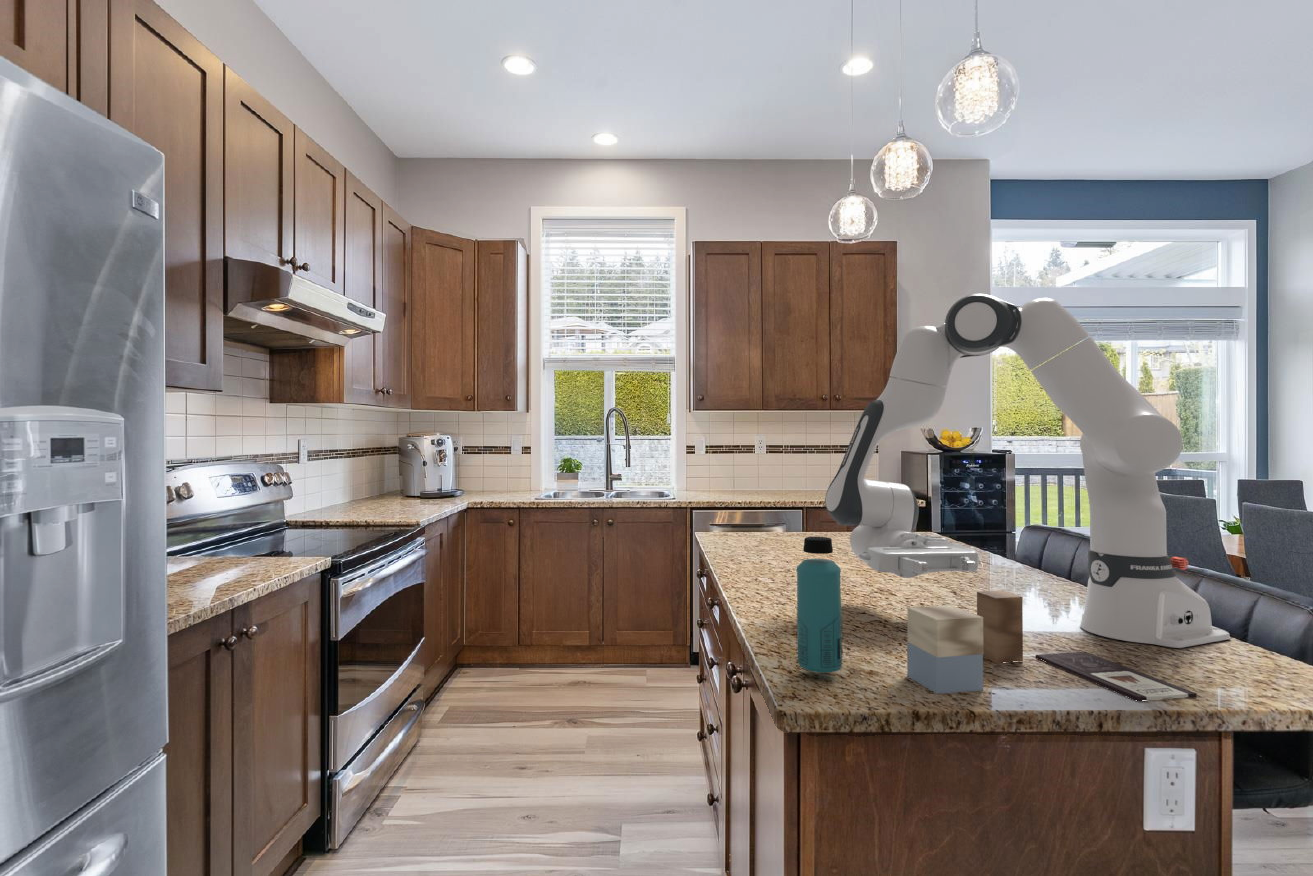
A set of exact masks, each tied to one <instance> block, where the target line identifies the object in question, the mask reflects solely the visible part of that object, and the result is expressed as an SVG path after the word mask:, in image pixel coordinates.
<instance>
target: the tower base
mask: <svg viewBox="0 0 1313 876" xmlns="http://www.w3.org/2000/svg"><path fill="white" fill-rule="evenodd" d="M906 643H907V644H906V650H907V652H906V653H907V655H906V656H907V657H906V664H907V667H906V668H907V669H906V670H907V673H906V674H907V677H908V678H910V679H911V680H913V681H914V682H915V683H917V684H919V685H921V686H923V687H925V688H926V687H927V688H928V690H929V691H931V692H932V691H934V692H935V693H934V692H933V693H934V694H935V695H939V694H940V693H942V695H943V694H953V693H955V694H956V693H967V692H981V691H984V658H983V654H978V655H964V656H949V657H936V656H934V655H932V654H930V653H928V652H926V651H924V650H922V649H920V648H918V647H916V646H914V645H912V644H910V643H908V641H907V642H906ZM927 688H926V689H927Z"/></svg>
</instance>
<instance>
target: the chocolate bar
mask: <svg viewBox="0 0 1313 876" xmlns="http://www.w3.org/2000/svg"><path fill="white" fill-rule="evenodd" d="M1036 658H1038V659H1037V660H1039V659H1042V660H1044V661H1046V662H1047V663H1046V662H1045V663H1046V664H1048V663H1049V665H1050V664H1052V665H1051V666H1053V665H1054V666H1053V667H1055V666H1056V667H1055V668H1057V669H1060V668H1061V670H1062V671H1064V670H1065V672H1067V673H1069V674H1071V673H1072V675H1074V676H1077V677H1078V678H1081V679H1083V678H1084V680H1085V679H1086V680H1085V681H1088V680H1089V681H1088V682H1090V683H1092V682H1094V683H1093V684H1095V683H1097V684H1099V685H1100V686H1099V685H1098V686H1099V687H1102V688H1104V687H1106V688H1108V689H1107V690H1109V691H1112V692H1113V691H1115V692H1114V693H1116V692H1117V693H1116V694H1118V693H1119V695H1120V694H1121V695H1120V696H1122V697H1125V696H1127V697H1129V698H1128V699H1130V698H1131V699H1130V700H1132V699H1133V700H1132V701H1134V700H1137V701H1142V700H1157V701H1162V700H1161V699H1170V700H1174V699H1173V698H1182V699H1185V698H1184V697H1195V698H1198V697H1197V696H1198V695H1197V693H1198V692H1197V693H1196V692H1194V691H1191V690H1190V689H1187V688H1183V687H1181V686H1177V685H1176V684H1172V683H1170V682H1167V681H1165V680H1162V679H1159V678H1156V677H1154V676H1150V675H1148V674H1146V673H1144V672H1140V671H1138V670H1135V669H1133V668H1131V667H1127V666H1125V665H1123V664H1119V663H1117V662H1114V661H1111V660H1109V659H1106V658H1103V657H1101V656H1098V655H1095V654H1092V653H1090V652H1087V651H1081V652H1079V651H1078V652H1076V651H1075V652H1063V653H1061V652H1060V653H1042V654H1040V653H1039V654H1035V659H1036ZM1097 684H1096V685H1097ZM1106 688H1105V689H1106ZM1127 697H1126V698H1127ZM1137 701H1136V702H1137Z"/></svg>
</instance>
